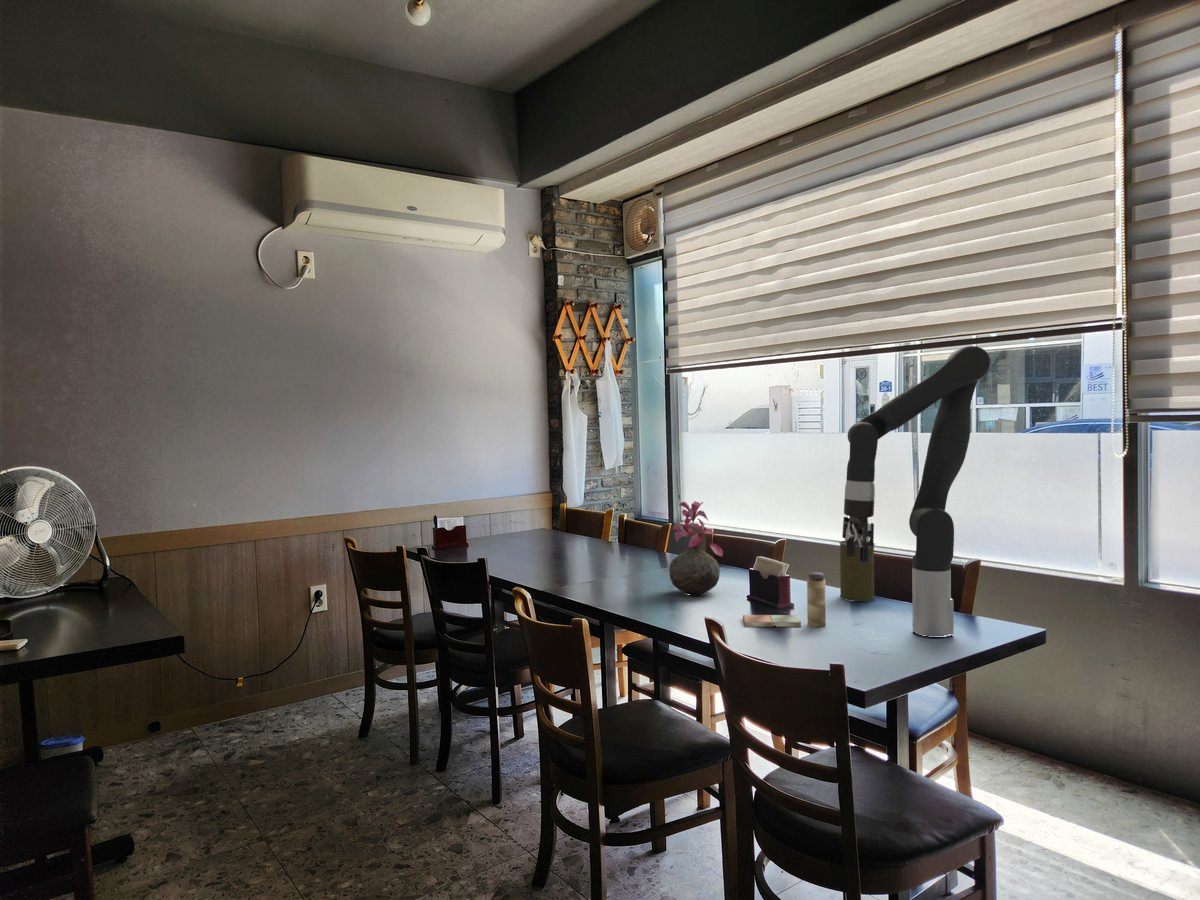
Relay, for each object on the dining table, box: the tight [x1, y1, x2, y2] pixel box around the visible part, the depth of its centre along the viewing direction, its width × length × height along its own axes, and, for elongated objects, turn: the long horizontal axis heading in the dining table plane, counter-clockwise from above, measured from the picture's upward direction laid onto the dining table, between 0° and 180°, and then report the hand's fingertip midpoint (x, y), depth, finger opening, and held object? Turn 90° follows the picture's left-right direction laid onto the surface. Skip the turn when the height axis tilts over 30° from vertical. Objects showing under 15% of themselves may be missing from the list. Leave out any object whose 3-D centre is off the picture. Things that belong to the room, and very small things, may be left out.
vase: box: [668, 501, 724, 595], centre depth 256 cm, size 17×17×30 cm
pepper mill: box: [806, 571, 827, 628], centre depth 216 cm, size 5×5×14 cm
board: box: [742, 614, 802, 628], centre depth 220 cm, size 15×8×1 cm, turn 84°
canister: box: [839, 539, 875, 602], centre depth 246 cm, size 11×10×20 cm
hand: (856, 558), depth 209 cm, fingers open, 8 cm apart
